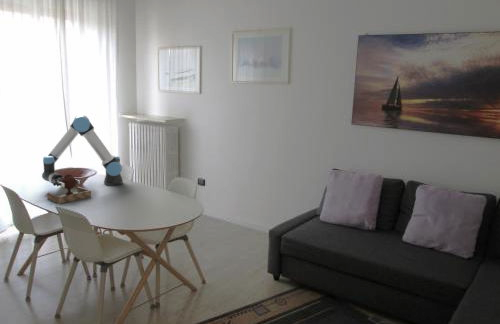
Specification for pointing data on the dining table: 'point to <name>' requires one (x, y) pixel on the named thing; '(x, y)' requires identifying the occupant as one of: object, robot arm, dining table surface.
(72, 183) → the ice cream bowl
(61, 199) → the bay
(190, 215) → the dining table surface
